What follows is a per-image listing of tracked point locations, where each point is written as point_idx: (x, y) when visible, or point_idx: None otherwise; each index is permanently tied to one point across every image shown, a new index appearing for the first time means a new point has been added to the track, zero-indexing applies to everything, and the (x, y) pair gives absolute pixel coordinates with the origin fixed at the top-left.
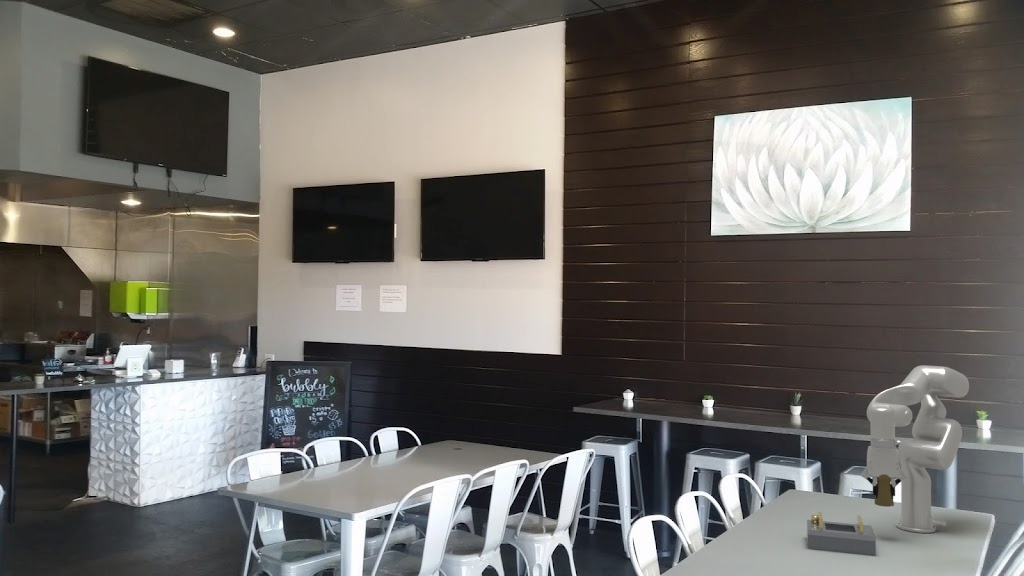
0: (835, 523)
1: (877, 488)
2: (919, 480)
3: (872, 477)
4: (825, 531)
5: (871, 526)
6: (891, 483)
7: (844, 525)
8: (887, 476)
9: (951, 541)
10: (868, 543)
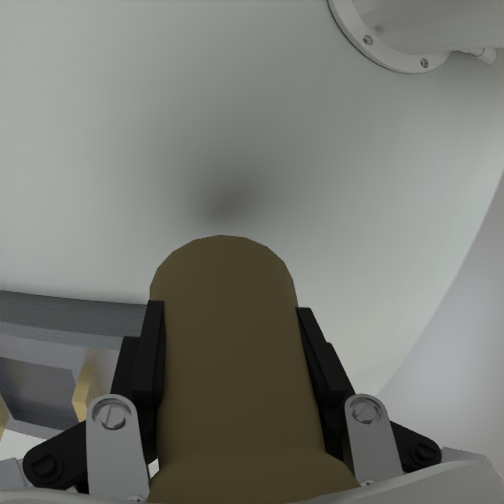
0: (9, 352)
1: None
2: None
3: (88, 478)
4: (20, 432)
5: None
6: (337, 437)
7: (39, 362)
8: None
9: (449, 175)
10: None
